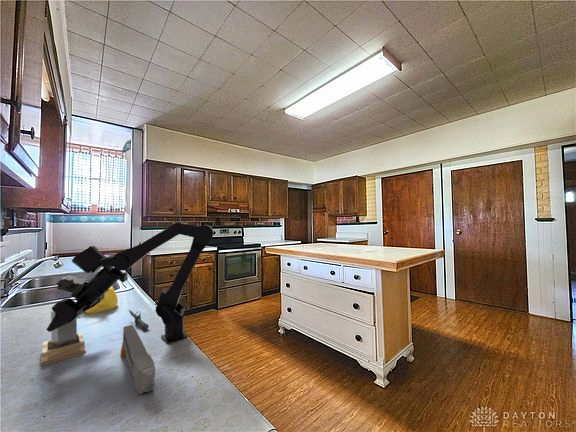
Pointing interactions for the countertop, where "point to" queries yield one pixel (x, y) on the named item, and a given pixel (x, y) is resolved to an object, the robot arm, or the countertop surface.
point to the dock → (62, 350)
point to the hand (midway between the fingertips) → (58, 324)
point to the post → (64, 334)
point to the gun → (138, 360)
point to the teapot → (105, 302)
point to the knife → (139, 320)
